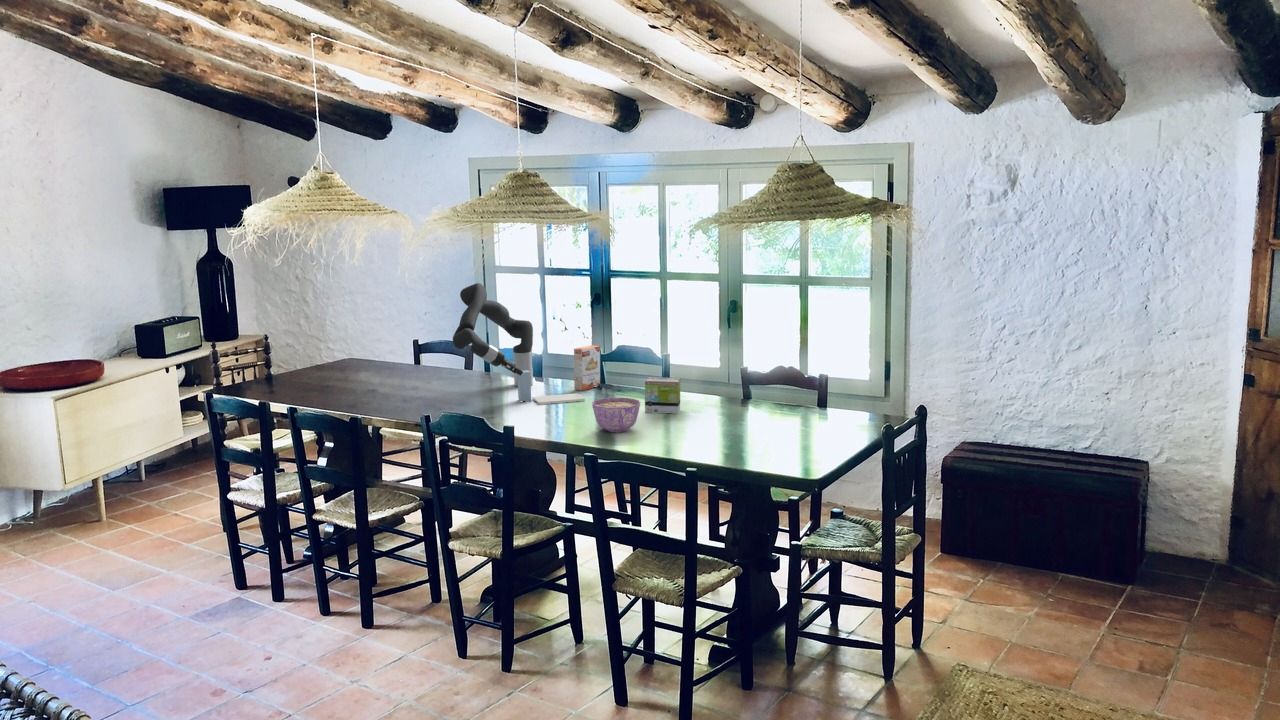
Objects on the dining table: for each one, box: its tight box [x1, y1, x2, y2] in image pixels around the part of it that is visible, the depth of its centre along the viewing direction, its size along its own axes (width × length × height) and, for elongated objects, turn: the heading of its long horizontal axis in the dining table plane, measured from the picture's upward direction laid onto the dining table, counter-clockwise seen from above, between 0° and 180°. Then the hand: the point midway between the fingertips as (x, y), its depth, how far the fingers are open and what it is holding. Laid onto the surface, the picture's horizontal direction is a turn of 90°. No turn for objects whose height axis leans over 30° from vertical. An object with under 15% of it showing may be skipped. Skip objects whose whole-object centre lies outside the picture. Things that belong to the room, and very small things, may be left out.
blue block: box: [517, 370, 532, 402], centre depth 464 cm, size 5×5×14 cm
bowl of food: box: [591, 397, 641, 433], centre depth 406 cm, size 20×20×12 cm
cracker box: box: [573, 345, 601, 392], centre depth 491 cm, size 14×6×21 cm, turn 143°
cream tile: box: [531, 393, 586, 405], centre depth 466 cm, size 13×22×1 cm, turn 110°
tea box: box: [644, 376, 681, 414], centre depth 439 cm, size 15×10×15 cm, turn 82°
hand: (518, 370), depth 459 cm, fingers open, 8 cm apart
